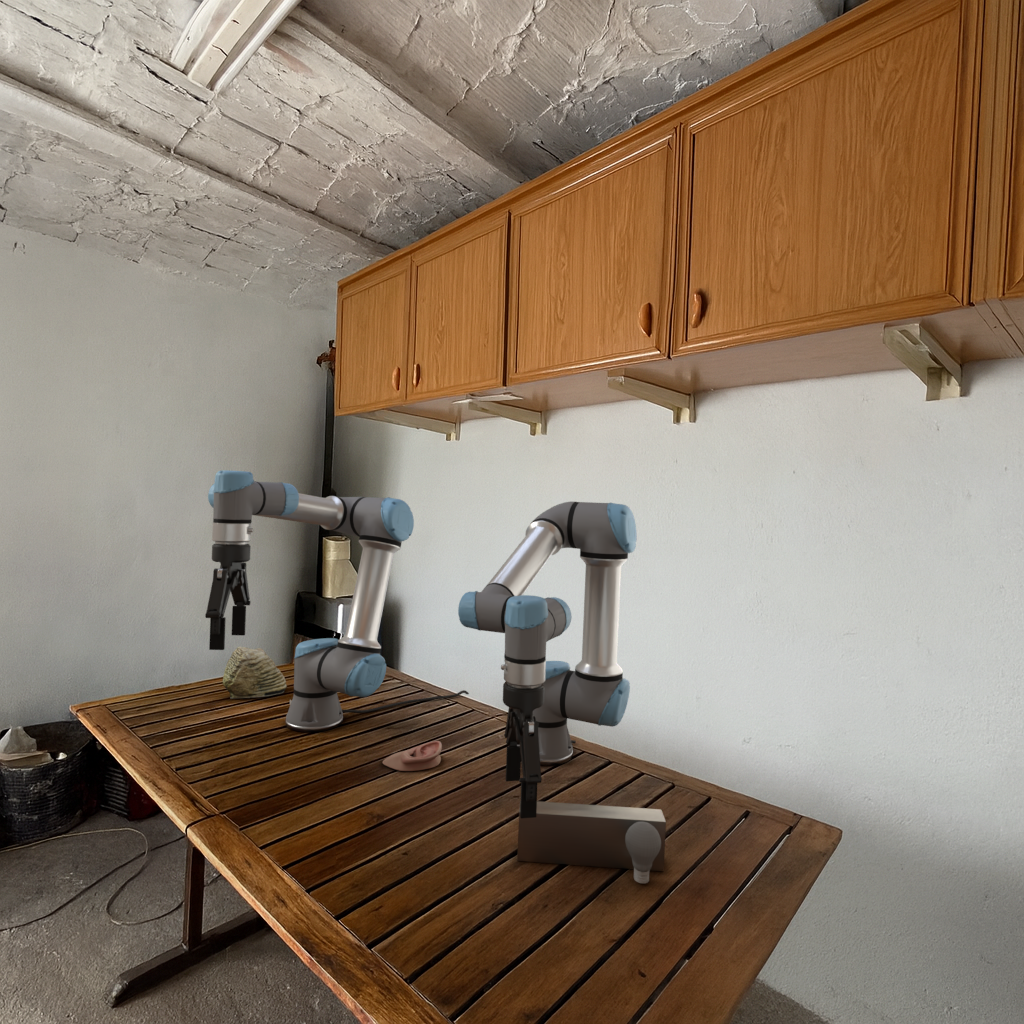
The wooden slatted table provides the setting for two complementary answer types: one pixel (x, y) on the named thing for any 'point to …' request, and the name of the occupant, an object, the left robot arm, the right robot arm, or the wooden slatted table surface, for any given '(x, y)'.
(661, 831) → the bar
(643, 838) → the light bulb
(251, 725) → the wooden slatted table surface
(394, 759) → the anatomical model
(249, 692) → the fossil
